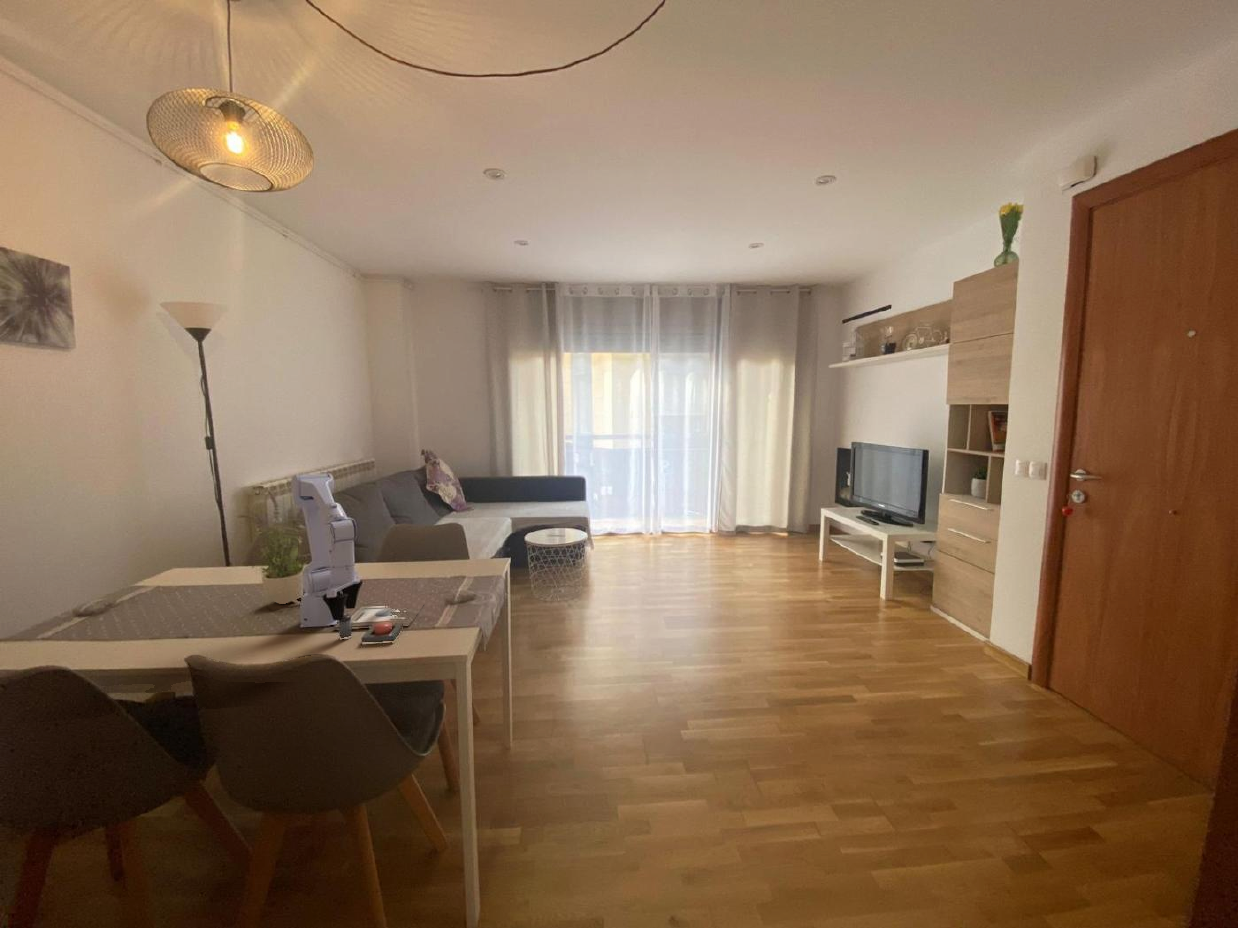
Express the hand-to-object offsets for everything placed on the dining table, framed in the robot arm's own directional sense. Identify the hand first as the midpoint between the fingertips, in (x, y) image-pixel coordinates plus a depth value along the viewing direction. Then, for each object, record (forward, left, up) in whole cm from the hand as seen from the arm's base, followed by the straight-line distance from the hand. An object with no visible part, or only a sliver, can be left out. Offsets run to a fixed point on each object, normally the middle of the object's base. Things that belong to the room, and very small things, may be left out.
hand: (344, 613), depth 124 cm
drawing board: (+5, +13, -7) cm, 16 cm away
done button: (+10, -1, -5) cm, 11 cm away
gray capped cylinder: (0, 0, -7) cm, 7 cm away
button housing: (+10, -1, -7) cm, 12 cm away
